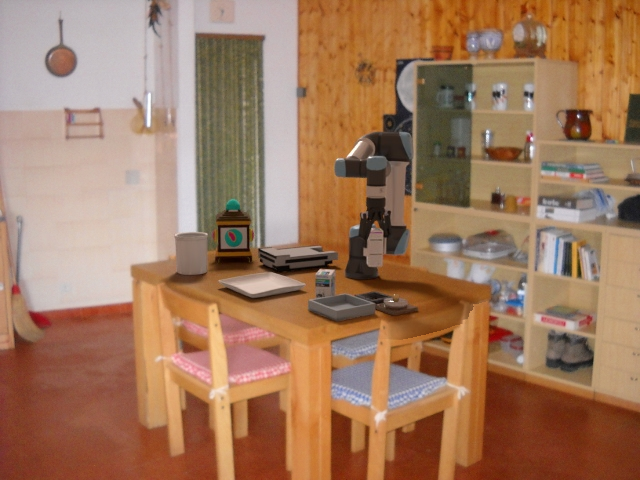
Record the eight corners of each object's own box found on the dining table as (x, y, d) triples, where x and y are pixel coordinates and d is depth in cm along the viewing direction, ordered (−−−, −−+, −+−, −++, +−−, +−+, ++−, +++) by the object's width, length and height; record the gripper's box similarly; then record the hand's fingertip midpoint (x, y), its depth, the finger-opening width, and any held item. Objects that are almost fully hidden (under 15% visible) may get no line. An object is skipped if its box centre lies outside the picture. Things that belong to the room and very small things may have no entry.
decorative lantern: (253, 255, 392) (252, 196, 387) (255, 263, 373) (254, 201, 367) (213, 255, 389) (212, 196, 384) (213, 264, 370) (212, 202, 365)
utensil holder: (173, 269, 359) (172, 232, 356) (205, 267, 363) (204, 230, 360) (177, 276, 345) (176, 237, 342) (211, 274, 350) (210, 236, 346)
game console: (337, 267, 367) (338, 250, 366) (276, 274, 352) (276, 256, 351) (317, 258, 385) (317, 242, 384) (258, 265, 370) (258, 248, 369)
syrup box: (382, 267, 300) (384, 230, 297) (367, 267, 299) (369, 230, 297) (380, 264, 305) (381, 227, 303) (365, 264, 305) (367, 227, 302)
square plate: (217, 288, 326) (216, 279, 326) (271, 279, 343) (271, 270, 342) (251, 302, 305) (251, 292, 305) (307, 292, 322) (307, 282, 321)
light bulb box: (331, 301, 305) (331, 275, 303) (314, 300, 307) (314, 274, 305) (335, 295, 316) (335, 269, 314) (319, 294, 317) (319, 268, 315)
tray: (308, 310, 293) (308, 299, 292) (345, 303, 303) (346, 293, 303) (336, 321, 279) (336, 310, 278) (375, 313, 289) (375, 303, 288)
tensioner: (353, 301, 306) (353, 286, 305) (376, 296, 313) (376, 282, 312) (393, 315, 287) (394, 300, 285) (417, 310, 293) (418, 295, 292)
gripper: (361, 199, 288) (360, 259, 293) (402, 195, 300) (401, 253, 305) (348, 197, 294) (348, 256, 299) (390, 193, 306) (388, 250, 311)
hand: (374, 254), depth 302 cm, fingers closed on syrup box, 8 cm apart
